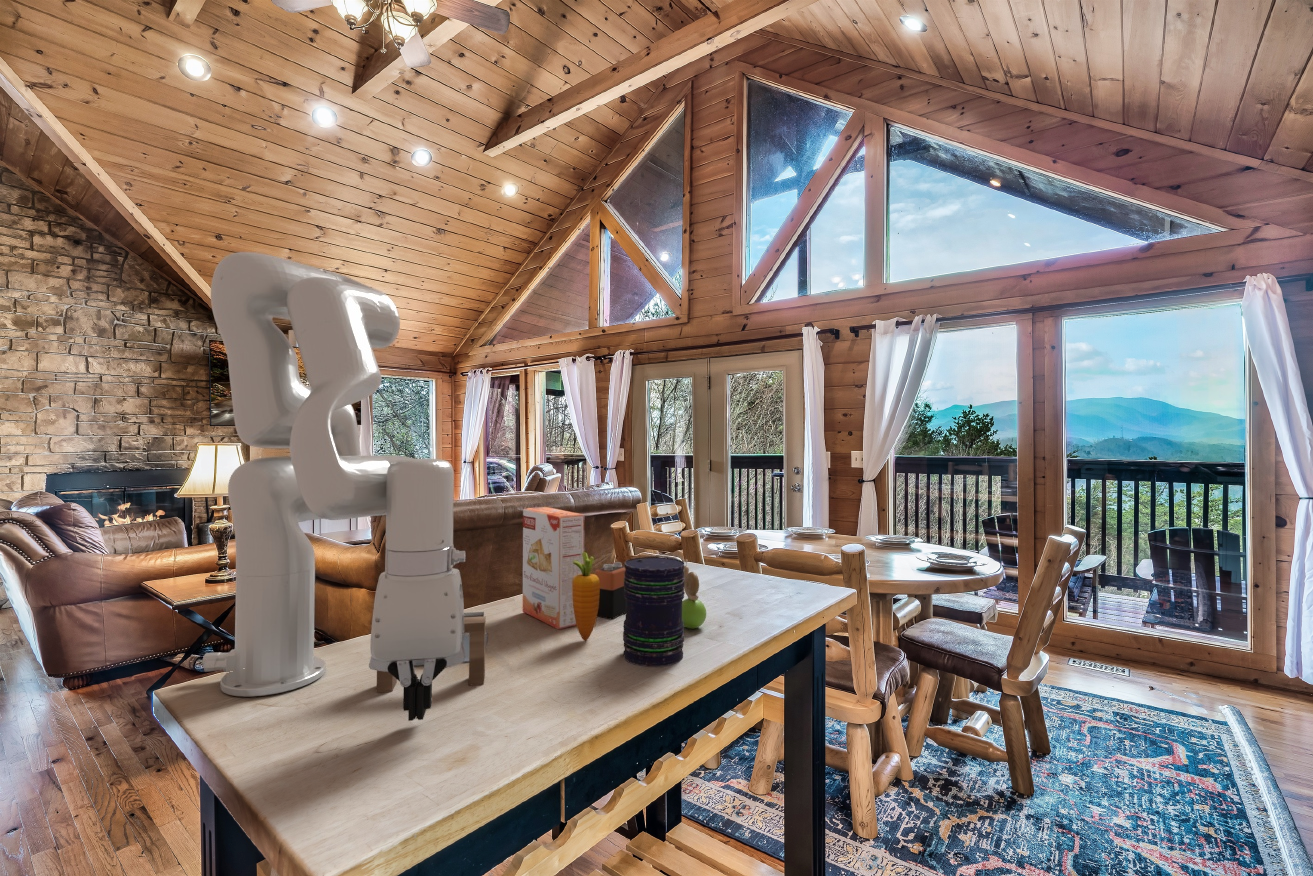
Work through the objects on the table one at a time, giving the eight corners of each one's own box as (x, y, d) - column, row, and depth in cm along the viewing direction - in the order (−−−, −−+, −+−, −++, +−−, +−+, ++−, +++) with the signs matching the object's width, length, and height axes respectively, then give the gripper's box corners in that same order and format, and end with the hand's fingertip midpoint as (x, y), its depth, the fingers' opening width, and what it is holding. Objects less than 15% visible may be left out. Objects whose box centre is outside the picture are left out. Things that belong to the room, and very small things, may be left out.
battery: (593, 616, 117) (594, 565, 117) (612, 608, 123) (613, 559, 123) (612, 620, 115) (612, 568, 115) (630, 611, 121) (631, 562, 121)
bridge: (483, 684, 84) (484, 622, 84) (376, 692, 81) (377, 628, 81) (484, 676, 87) (485, 616, 87) (381, 683, 84) (382, 621, 84)
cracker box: (520, 613, 119) (521, 508, 119) (546, 607, 123) (548, 506, 123) (556, 630, 108) (558, 515, 108) (584, 624, 112) (586, 513, 112)
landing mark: (393, 667, 90) (394, 666, 90) (409, 639, 103) (409, 638, 103) (483, 661, 93) (483, 660, 93) (487, 634, 106) (487, 633, 106)
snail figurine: (696, 620, 115) (697, 558, 116) (711, 630, 110) (712, 565, 110) (670, 623, 114) (671, 560, 114) (684, 633, 108) (684, 567, 108)
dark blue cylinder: (695, 653, 98) (696, 561, 98) (662, 672, 90) (663, 572, 90) (645, 641, 103) (646, 554, 104) (610, 657, 95) (611, 563, 95)
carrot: (594, 646, 100) (595, 557, 100) (566, 644, 101) (567, 555, 101) (603, 637, 105) (604, 551, 105) (576, 635, 106) (577, 550, 106)
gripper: (486, 554, 77) (484, 696, 77) (360, 557, 74) (357, 707, 74) (482, 566, 70) (480, 724, 70) (342, 571, 66) (340, 736, 66)
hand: (417, 714), depth 72 cm, fingers closed
